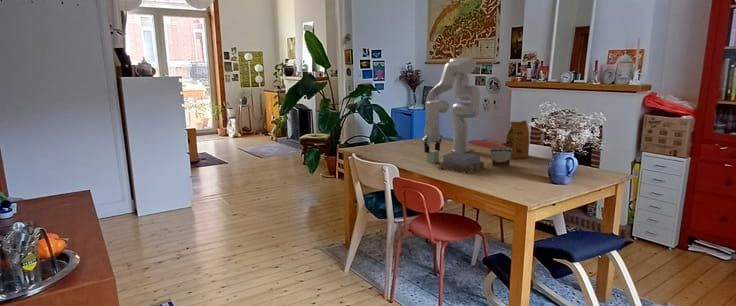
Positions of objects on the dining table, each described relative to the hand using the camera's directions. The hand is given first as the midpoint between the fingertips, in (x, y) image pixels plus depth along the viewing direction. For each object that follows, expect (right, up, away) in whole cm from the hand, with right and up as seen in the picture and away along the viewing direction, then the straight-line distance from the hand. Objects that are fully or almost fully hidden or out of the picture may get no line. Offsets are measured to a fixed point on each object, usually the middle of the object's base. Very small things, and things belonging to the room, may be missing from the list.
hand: (432, 151), depth 280 cm
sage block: (+1, -6, +2) cm, 7 cm away
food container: (+37, -8, -10) cm, 39 cm away
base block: (+14, -10, -15) cm, 23 cm away
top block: (+14, -6, -16) cm, 22 cm away
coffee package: (+52, -4, +8) cm, 53 cm away
